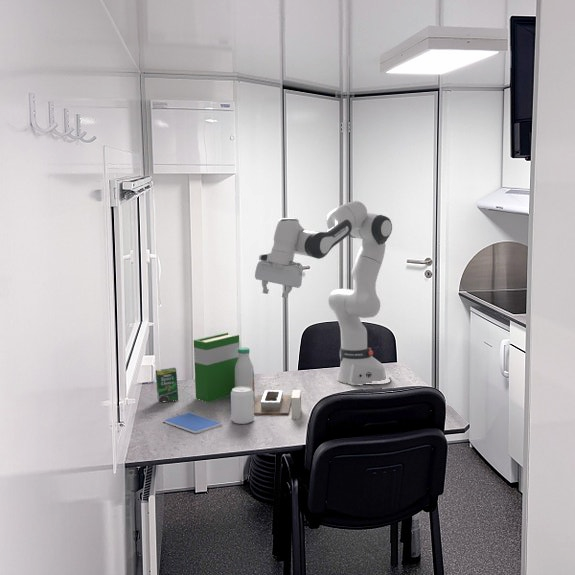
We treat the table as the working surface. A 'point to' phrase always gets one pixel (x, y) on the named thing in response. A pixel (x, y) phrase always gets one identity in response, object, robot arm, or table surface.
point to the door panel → (296, 404)
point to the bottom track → (271, 404)
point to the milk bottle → (244, 369)
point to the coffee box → (167, 384)
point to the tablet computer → (192, 423)
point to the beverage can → (242, 405)
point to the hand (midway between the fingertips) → (274, 295)
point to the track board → (283, 410)
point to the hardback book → (215, 366)
